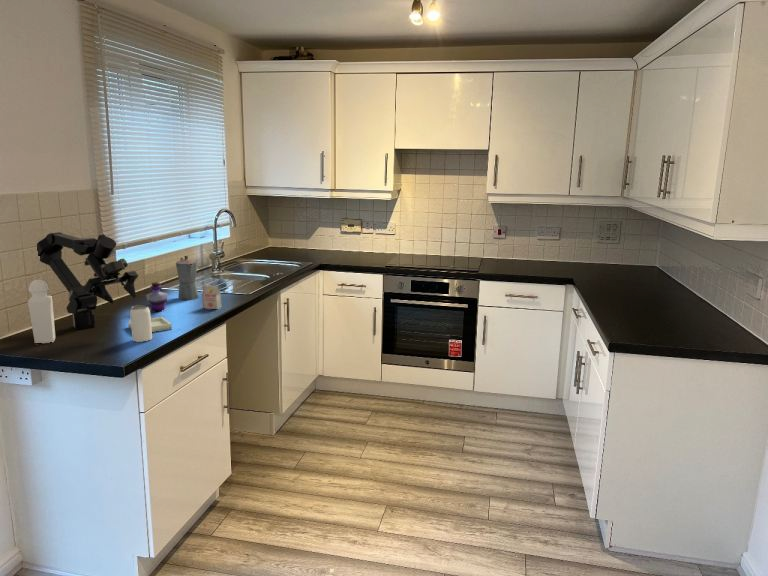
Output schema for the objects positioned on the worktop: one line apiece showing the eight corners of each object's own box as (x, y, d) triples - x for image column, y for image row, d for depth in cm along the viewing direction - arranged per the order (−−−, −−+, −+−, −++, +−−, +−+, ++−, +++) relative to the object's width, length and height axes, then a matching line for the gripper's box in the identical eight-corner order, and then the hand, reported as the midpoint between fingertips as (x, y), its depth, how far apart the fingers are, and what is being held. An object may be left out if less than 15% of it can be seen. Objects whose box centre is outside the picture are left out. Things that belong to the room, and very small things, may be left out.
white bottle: (33, 344, 195) (24, 282, 190) (36, 339, 200) (28, 278, 196) (54, 342, 197) (47, 280, 192) (57, 337, 203) (49, 277, 198)
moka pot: (184, 302, 255) (181, 258, 251) (171, 296, 267) (168, 254, 262) (204, 299, 261) (202, 256, 257) (191, 293, 273) (188, 252, 268)
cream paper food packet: (207, 306, 248) (206, 284, 246) (221, 307, 246) (220, 285, 244) (203, 308, 244) (201, 286, 242) (217, 310, 243) (215, 287, 240)
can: (146, 336, 205) (143, 303, 203) (155, 339, 201) (153, 306, 199) (129, 340, 200) (126, 307, 198) (138, 343, 196) (135, 310, 194)
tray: (136, 335, 206) (136, 329, 206) (128, 327, 216) (128, 321, 216) (171, 329, 214) (171, 323, 213) (162, 322, 223) (162, 316, 223)
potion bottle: (173, 308, 245) (170, 281, 242) (161, 313, 236) (158, 285, 234) (155, 307, 247) (153, 280, 244) (142, 312, 238) (140, 284, 236)
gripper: (85, 255, 193) (109, 291, 190) (132, 249, 209) (155, 281, 206) (73, 276, 198) (97, 310, 195) (120, 268, 214) (142, 300, 211)
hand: (124, 300), depth 202 cm, fingers open, 9 cm apart
